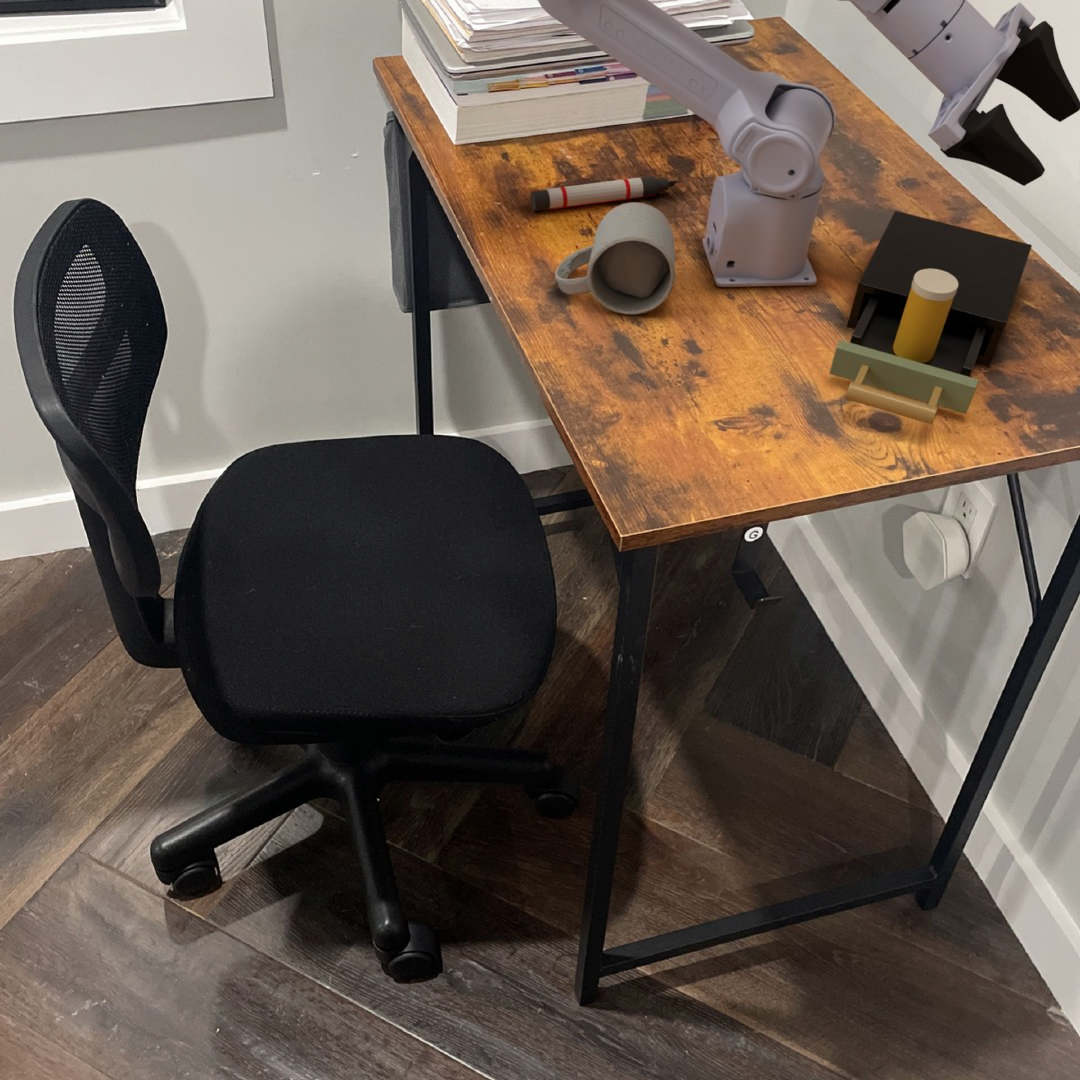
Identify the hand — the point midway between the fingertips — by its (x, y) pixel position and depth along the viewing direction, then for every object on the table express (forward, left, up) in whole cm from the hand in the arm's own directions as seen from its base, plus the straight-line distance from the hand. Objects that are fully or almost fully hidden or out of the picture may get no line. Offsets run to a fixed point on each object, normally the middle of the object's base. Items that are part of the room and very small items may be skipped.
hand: (1052, 145), depth 92 cm
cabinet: (-5, +1, -16) cm, 17 cm away
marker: (-33, +21, -16) cm, 42 cm away
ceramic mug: (-34, +5, -16) cm, 38 cm away
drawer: (-11, -9, -15) cm, 21 cm away
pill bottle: (-10, -8, -14) cm, 19 cm away
